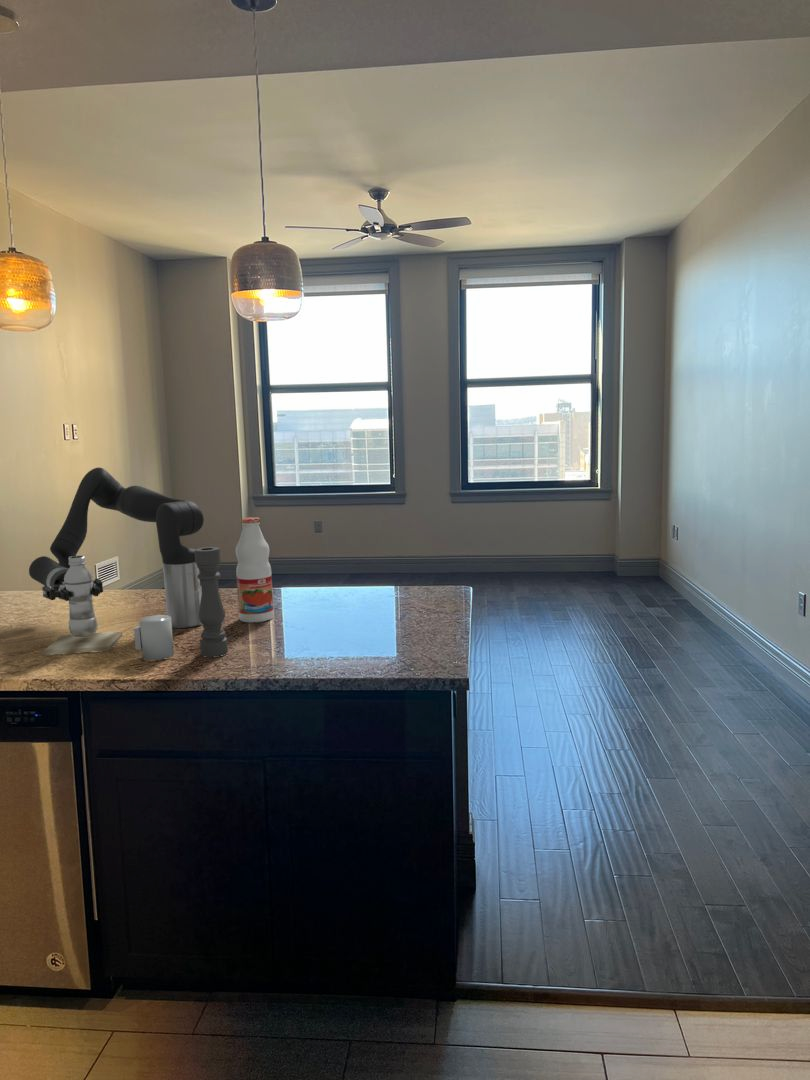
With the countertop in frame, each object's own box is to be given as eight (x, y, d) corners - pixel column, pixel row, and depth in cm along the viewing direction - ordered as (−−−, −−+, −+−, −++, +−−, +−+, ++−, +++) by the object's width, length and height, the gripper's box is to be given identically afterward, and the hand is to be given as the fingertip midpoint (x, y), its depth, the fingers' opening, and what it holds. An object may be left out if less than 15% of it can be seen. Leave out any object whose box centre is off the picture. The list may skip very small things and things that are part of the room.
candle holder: (217, 648, 181) (210, 545, 177) (233, 652, 177) (226, 548, 173) (195, 654, 177) (187, 549, 173) (211, 659, 173) (204, 552, 169)
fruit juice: (266, 612, 214) (260, 515, 209) (279, 619, 206) (273, 518, 201) (234, 617, 209) (228, 518, 204) (246, 625, 201) (239, 521, 196)
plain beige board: (122, 636, 194) (122, 631, 194) (109, 651, 181) (109, 646, 181) (61, 639, 192) (61, 635, 192) (44, 655, 179) (44, 650, 179)
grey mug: (176, 650, 180) (173, 614, 179) (171, 659, 173) (168, 621, 172) (140, 652, 179) (137, 616, 178) (134, 662, 172) (131, 624, 171)
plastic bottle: (88, 640, 182) (81, 559, 179) (63, 639, 184) (55, 559, 180) (103, 632, 189) (97, 554, 185) (79, 631, 190) (72, 554, 187)
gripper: (33, 573, 191) (48, 583, 177) (92, 565, 199) (111, 575, 186) (36, 601, 192) (52, 614, 179) (94, 592, 200) (114, 604, 187)
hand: (82, 594), depth 182 cm, fingers open, 6 cm apart
